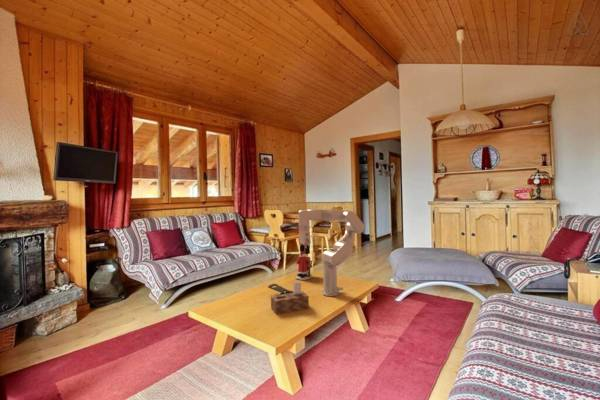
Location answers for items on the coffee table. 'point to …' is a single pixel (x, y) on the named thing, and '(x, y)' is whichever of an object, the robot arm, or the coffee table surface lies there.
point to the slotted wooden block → (289, 302)
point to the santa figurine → (304, 267)
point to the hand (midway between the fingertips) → (304, 252)
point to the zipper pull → (280, 289)
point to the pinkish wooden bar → (297, 288)
